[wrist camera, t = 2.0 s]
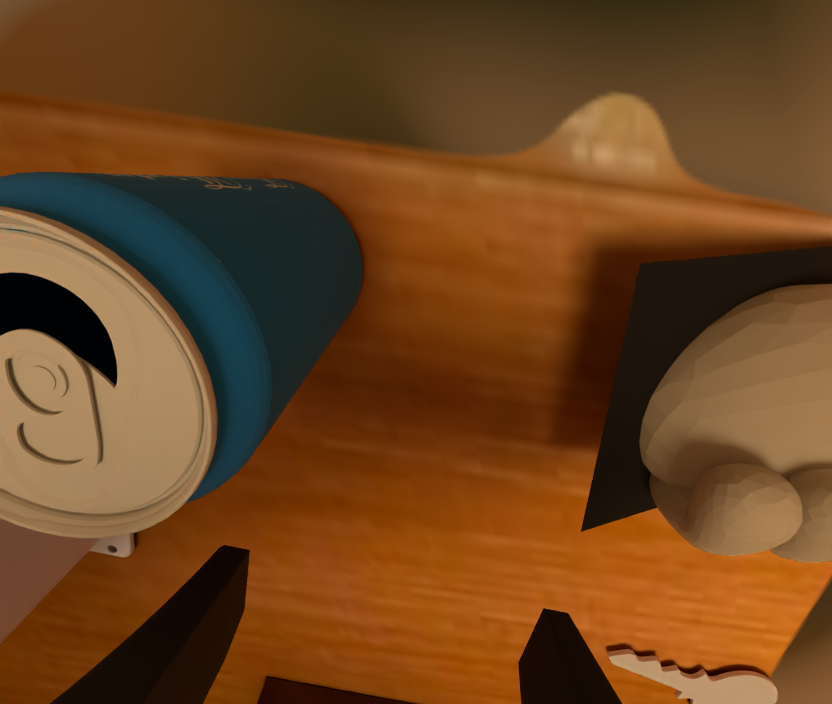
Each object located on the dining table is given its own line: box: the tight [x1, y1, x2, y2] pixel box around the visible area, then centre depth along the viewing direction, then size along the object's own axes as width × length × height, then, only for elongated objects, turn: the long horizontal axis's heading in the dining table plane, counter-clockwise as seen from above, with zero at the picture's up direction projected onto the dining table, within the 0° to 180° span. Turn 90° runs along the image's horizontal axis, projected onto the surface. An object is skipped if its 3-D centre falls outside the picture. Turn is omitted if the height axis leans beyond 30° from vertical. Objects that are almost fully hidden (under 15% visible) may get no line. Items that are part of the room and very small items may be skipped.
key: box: [607, 649, 778, 704], centre depth 25 cm, size 11×1×5 cm
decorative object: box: [581, 246, 832, 563], centre depth 14 cm, size 13×10×10 cm
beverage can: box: [0, 172, 363, 538], centre depth 12 cm, size 6×6×12 cm
